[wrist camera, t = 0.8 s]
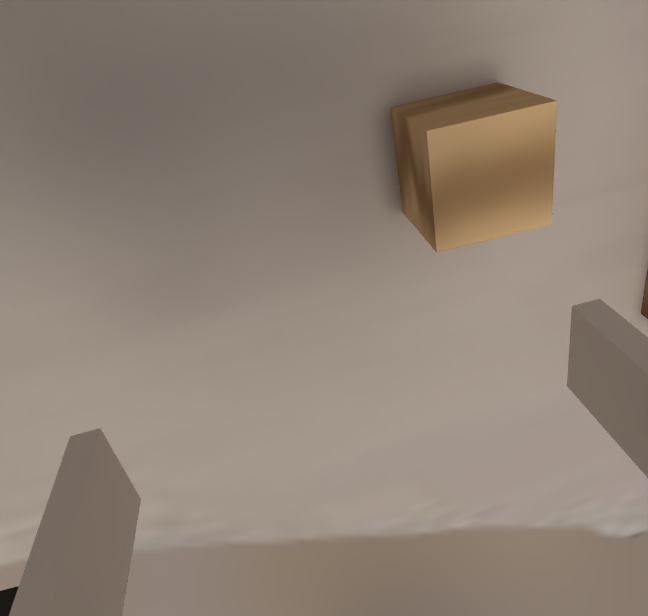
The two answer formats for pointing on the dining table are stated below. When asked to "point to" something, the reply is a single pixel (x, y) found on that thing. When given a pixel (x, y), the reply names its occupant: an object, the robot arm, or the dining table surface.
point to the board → (645, 300)
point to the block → (476, 164)
